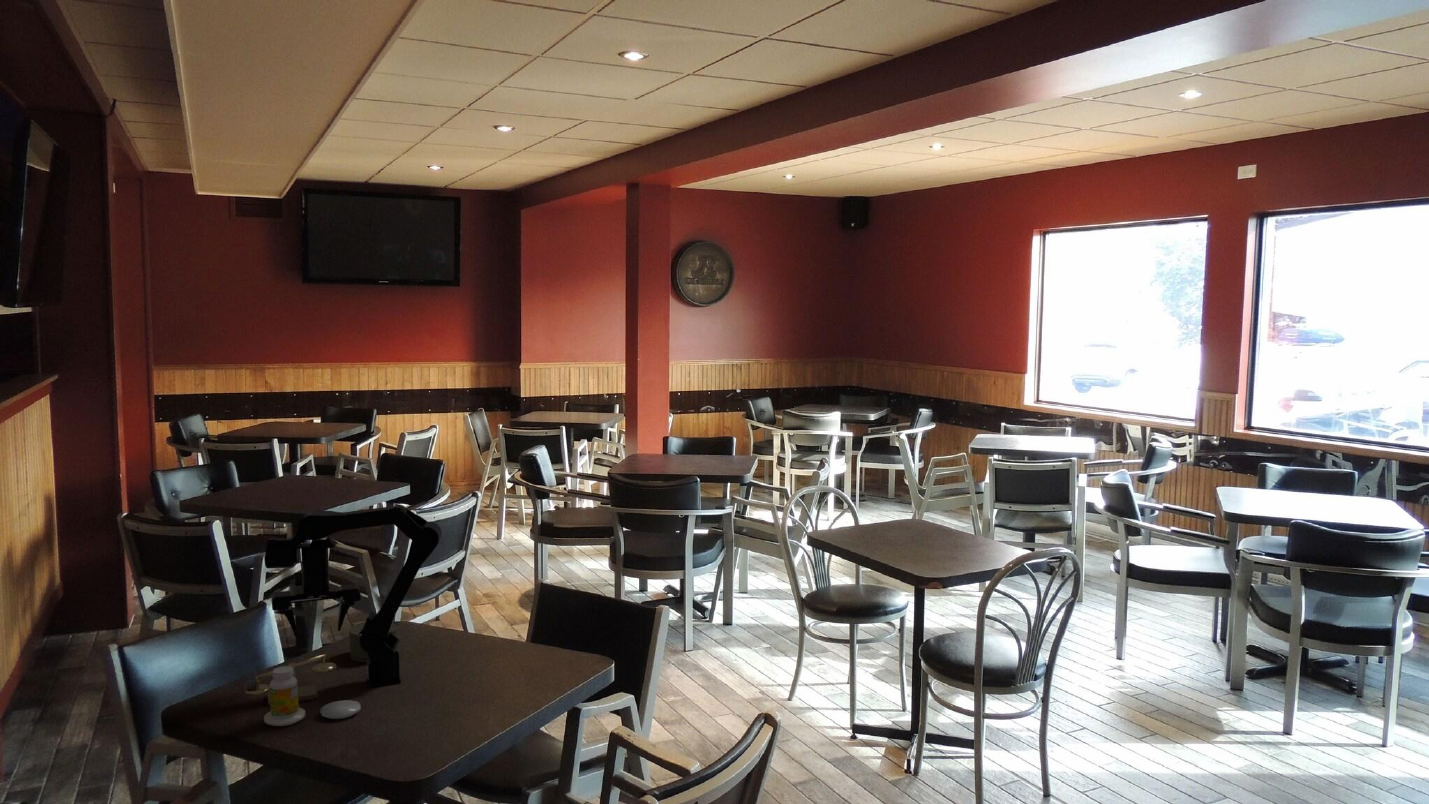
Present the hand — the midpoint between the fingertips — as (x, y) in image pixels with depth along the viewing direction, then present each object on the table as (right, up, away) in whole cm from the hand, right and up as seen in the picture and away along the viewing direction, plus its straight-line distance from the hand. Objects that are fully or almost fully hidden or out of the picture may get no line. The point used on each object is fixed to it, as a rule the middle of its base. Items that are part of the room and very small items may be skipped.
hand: (317, 633), depth 232 cm
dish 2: (+11, -14, -16) cm, 24 cm away
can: (+6, -10, +22) cm, 25 cm away
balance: (-3, -13, -7) cm, 15 cm away
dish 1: (+1, -14, -19) cm, 24 cm away
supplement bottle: (+1, -13, -19) cm, 23 cm away
